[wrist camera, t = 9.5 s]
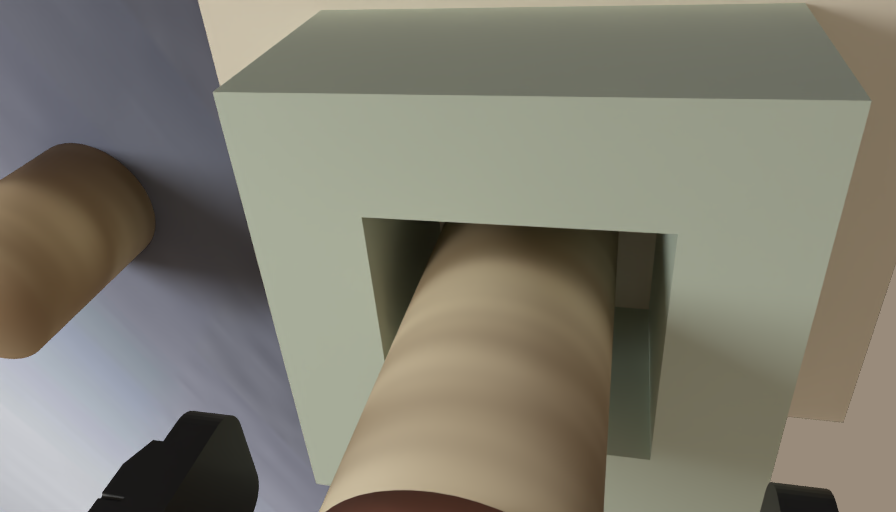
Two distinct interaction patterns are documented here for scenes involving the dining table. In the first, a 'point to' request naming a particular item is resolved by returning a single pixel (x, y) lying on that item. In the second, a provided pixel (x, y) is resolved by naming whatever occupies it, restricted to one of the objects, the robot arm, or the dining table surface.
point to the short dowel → (64, 239)
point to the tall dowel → (493, 380)
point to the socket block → (581, 199)
